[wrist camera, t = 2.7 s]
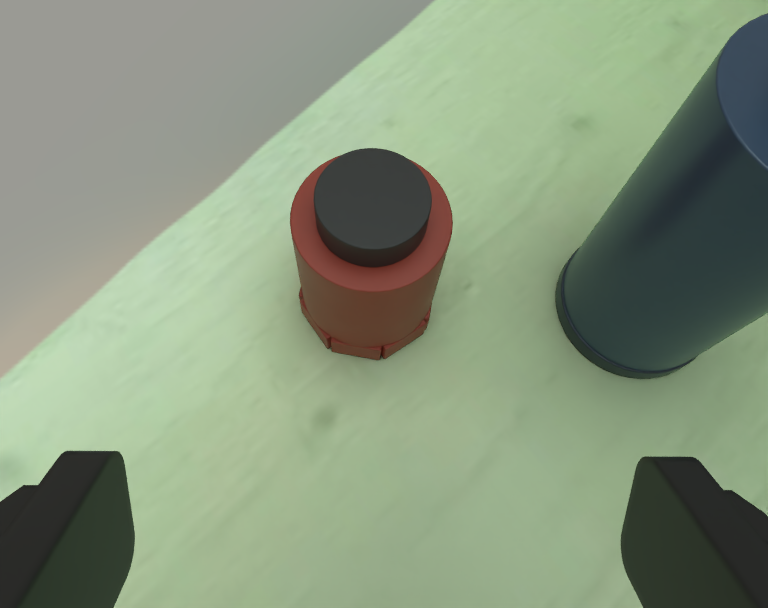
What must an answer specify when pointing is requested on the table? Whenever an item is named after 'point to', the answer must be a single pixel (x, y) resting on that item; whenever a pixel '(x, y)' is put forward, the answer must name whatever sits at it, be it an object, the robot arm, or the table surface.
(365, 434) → the table surface
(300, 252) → the lid
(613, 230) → the flask
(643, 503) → the robot arm
